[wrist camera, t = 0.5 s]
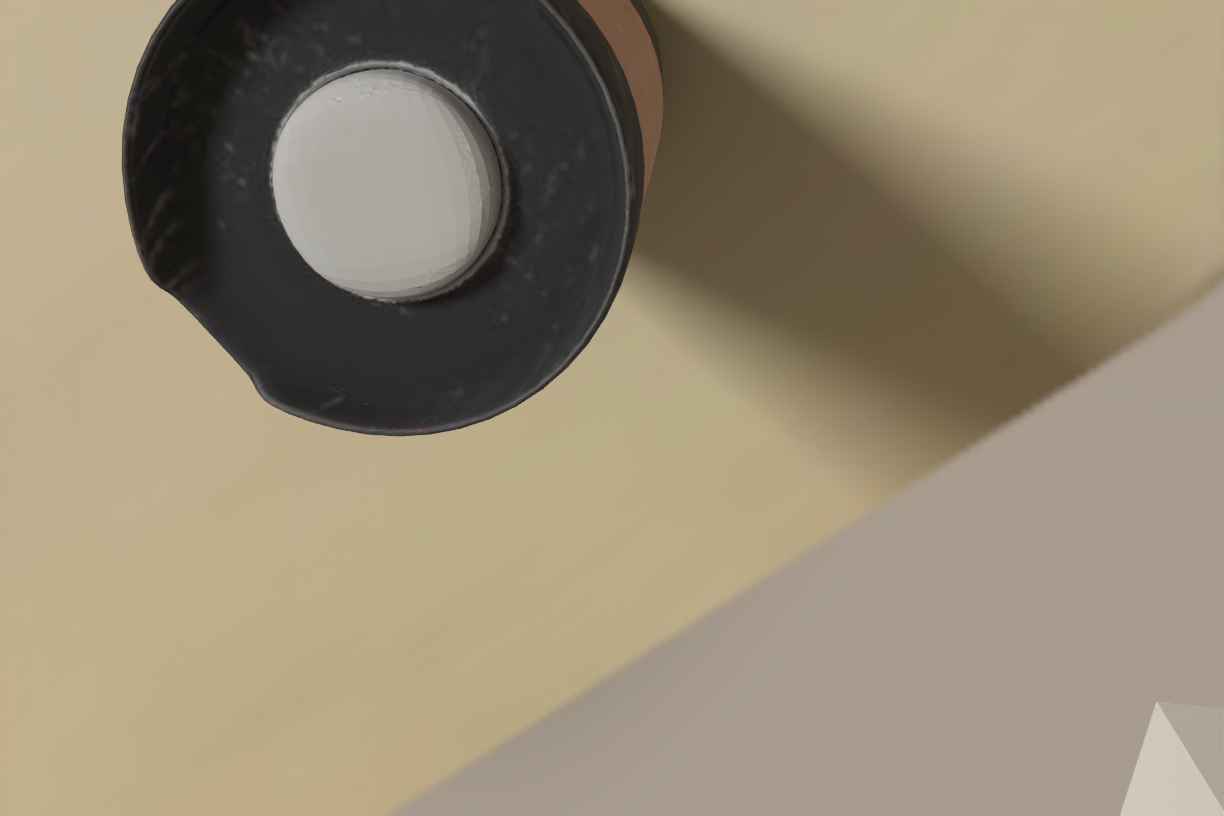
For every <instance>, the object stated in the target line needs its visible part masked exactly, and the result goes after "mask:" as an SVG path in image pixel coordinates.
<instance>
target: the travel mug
mask: <svg viewBox="0 0 1224 816" xmlns="http://www.w3.org/2000/svg"><path fill="white" fill-rule="evenodd" d="M663 105H664V99H663V84H662V70H661V58H660V53H659V48H658V43H657V39H656V36H655V33H654V30H653V27H652V24H651V22H650V20H649V18H648V16H647V14H646V12H645V10H644V8H643V6H642V5H641V3H640V2H639V0H176V1H175V3H174V4H173V5H172V6H171V7H170V8H169V10H168V11H167V13H166V14H165V16H164V18H163V19H162V21H161V22H160V24H159V25H158V27H157V28H156V30H155V31H154V33H153V35H152V36H151V38H150V40H149V43H148V45H147V47H146V49H145V51H144V54H143V56H142V58H141V60H140V62H139V65H138V67H137V70H136V73H135V77H134V80H133V84H132V87H131V90H130V94H129V97H128V102H127V108H126V114H125V121H124V127H123V136H122V174H123V184H124V194H125V202H126V207H127V212H128V217H129V222H130V227H131V231H132V235H133V238H134V241H135V245H136V248H137V251H138V255H139V257H140V259H141V262H142V264H143V267H144V269H145V271H146V273H147V274H148V276H149V278H150V279H151V280H152V281H153V282H154V283H155V284H156V285H158V286H159V287H160V288H161V289H163V290H165V291H166V292H168V293H170V294H171V295H172V296H173V297H175V298H176V299H177V300H178V301H179V302H180V303H181V304H182V305H183V306H184V307H185V308H186V309H187V310H188V311H189V312H190V313H191V314H192V315H193V316H194V317H195V318H196V319H197V320H198V321H199V322H200V323H201V324H202V325H203V327H204V328H205V329H206V330H207V331H208V332H209V333H210V334H211V335H212V336H213V337H214V338H215V339H216V340H217V341H218V342H219V343H220V345H221V346H222V347H223V348H224V349H225V350H226V351H227V352H228V353H229V354H230V355H231V356H232V357H233V359H234V360H235V361H236V362H237V363H238V364H239V365H240V367H241V368H242V369H243V370H244V371H245V372H246V373H247V375H248V376H249V377H250V379H251V380H252V382H253V384H254V386H255V388H256V390H257V392H258V393H259V394H260V396H261V397H262V398H263V399H264V400H265V401H266V402H267V403H269V404H270V405H272V406H274V407H276V408H278V409H280V410H282V411H284V412H286V413H288V414H291V415H294V416H296V417H299V418H302V419H304V420H307V421H310V422H314V423H317V424H321V425H324V426H328V427H332V428H335V429H340V430H346V431H351V432H357V433H363V434H369V435H386V436H412V435H428V434H435V433H440V432H445V431H451V430H456V429H461V428H464V427H467V426H470V425H473V424H476V423H479V422H482V421H485V420H489V419H491V418H493V417H495V416H497V415H499V414H501V413H503V412H505V411H508V410H510V409H512V408H514V407H516V406H518V405H519V404H521V403H522V402H524V401H525V400H527V399H528V398H530V397H531V396H533V395H534V394H536V393H537V392H539V391H540V390H542V389H543V388H544V387H545V386H547V385H548V384H549V383H550V382H551V381H552V380H554V379H555V378H556V377H557V376H558V375H559V374H561V373H562V372H563V371H564V370H565V369H566V368H567V367H568V366H569V365H570V364H571V363H572V362H573V361H574V359H575V358H576V357H577V356H578V355H579V354H580V353H581V351H582V350H583V349H584V348H585V347H586V346H587V345H588V343H589V342H590V340H591V339H592V337H593V336H594V334H595V333H596V331H597V330H598V328H599V327H600V325H601V324H602V322H603V321H604V319H605V317H606V315H607V314H608V311H609V309H610V307H611V305H612V303H613V301H614V299H615V297H616V295H617V293H618V291H619V289H620V287H621V284H622V281H623V278H624V275H625V272H626V269H627V266H628V263H629V259H630V256H631V253H632V249H633V245H634V241H635V237H636V233H637V229H638V225H639V221H640V217H641V213H642V209H643V206H644V202H645V198H646V194H647V190H648V186H649V182H650V178H651V174H652V170H653V166H654V163H655V159H656V155H657V151H658V147H659V141H660V136H661V131H662V124H663Z"/></svg>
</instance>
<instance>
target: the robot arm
mask: <svg viewBox="0 0 1224 816" xmlns="http://www.w3.org/2000/svg"><path fill="white" fill-rule="evenodd" d="M1120 816H1224V709H1220V708H1211V707H1202V706H1193V705H1184V704H1174V703H1166V702H1156V705H1155V708H1154V711H1153V714H1152V718H1151V721H1150V724H1149V727H1148V730H1147V734H1146V736H1145V739H1144V742H1143V746H1142V749H1141V752H1140V755H1139V758H1138V761H1137V764H1136V767H1135V770H1134V774H1133V777H1132V780H1131V783H1130V786H1129V789H1128V792H1127V796H1126V799H1125V802H1124V805H1123V808H1122V811H1121V814H1120Z"/></svg>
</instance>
